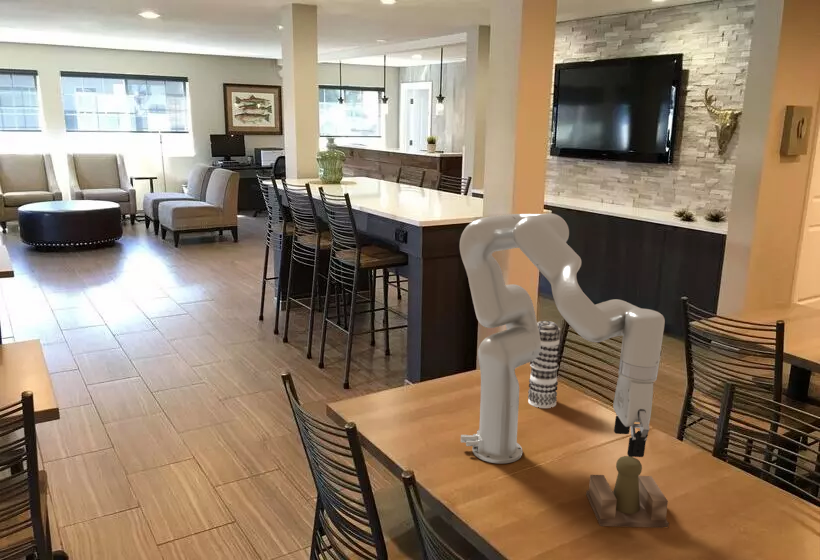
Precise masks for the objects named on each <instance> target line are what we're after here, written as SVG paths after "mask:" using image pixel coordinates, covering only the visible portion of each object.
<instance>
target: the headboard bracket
mask: <svg viewBox="0 0 820 560" xmlns="http://www.w3.org/2000/svg"><path fill="white" fill-rule="evenodd" d="M638 478H639V501H640V510H639V511H638V512H636V513H632V514H628V513H622V512H619V511H617V510H616V502H617V499H616V498H615V496H614V494H613V491H614V490H612V488H611V486H610V483H609V482H608V481H607V479H606V476H605V475H604V474H590V475H589V485H588V487H589V488H588V490H586V492H585V493H586V494H585V495H586V497H587V499H588V501H589V504H590V506H591V508H592V511H593V513H594V515H595V517H596V519H597V523H598V524H599V526H600V527H624V528H625V527H626V528H627V527H631V528H633V527H634V528H663V527H668V528H669V525H670V523H669V522H668V520H667V513H668V512H667V511H668V503H669V501H668V499H667V497H666V496H665V494H664V493H663V491H662V489H661V488H660V487H659V485H658V484H657V482H656V481H655V479H654V478H653V476H652V475H639V476H638Z"/></svg>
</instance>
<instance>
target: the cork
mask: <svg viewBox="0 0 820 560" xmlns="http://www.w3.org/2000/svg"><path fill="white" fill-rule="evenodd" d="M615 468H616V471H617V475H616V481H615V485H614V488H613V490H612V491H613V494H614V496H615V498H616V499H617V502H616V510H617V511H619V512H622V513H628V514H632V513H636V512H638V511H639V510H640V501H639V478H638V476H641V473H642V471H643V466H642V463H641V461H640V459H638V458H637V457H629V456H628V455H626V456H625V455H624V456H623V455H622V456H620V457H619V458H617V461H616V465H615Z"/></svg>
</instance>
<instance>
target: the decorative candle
mask: <svg viewBox="0 0 820 560" xmlns="http://www.w3.org/2000/svg"><path fill="white" fill-rule="evenodd" d="M537 325H538V329H539V334H540V339H541V350H540V353H539V355H538V357H537V358H536V359H534V360H533V361H531V362H529V366H530V367H531V372H530V376H529V377H530V378H529V379H528V382H529V384H528V387H529V389H528V391H527V392H528V396H527V398H528V400H527V402H528V403H527V404H529V405H530V406H532V407H534V408H538V407H539V408H538V409H552V408H554V407H556V406H557V401H558V398H557V396H558V392H557V390H558V385H559V382H558V376H557V375H558V374H557V373H558V369H559V367H560V366H559V364H558V363H559V362H561V359H560V357H561V353H560V351H562V347H561V346H562V344H563V343H562V341H560V331H561V328H560V327H559V326H558V324H557V323H555V322H553V321H550V320H540V321H537ZM551 407H552V408H551Z"/></svg>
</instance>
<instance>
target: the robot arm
mask: <svg viewBox="0 0 820 560" xmlns="http://www.w3.org/2000/svg"><path fill="white" fill-rule="evenodd" d="M569 236H570V228H569V225H568V224H567V222H566V221H565V220H564V218H563V217H561V216H560V215H559V214H556V213H553V212H552V213H551V212H549V213H509V214H503V215H493V216H486V217H481V218H478V219H475V220H473V221H472V222H470V223H469V224H467V225H466V226H465V228H464V230H463V231H462V233H461V234H460V238H459V253H460V257H461V260H462V263H463V266H464V269H465V272H466V276H467V278H468V284H469V285H468V286H469V289H470V294H471V299H472V304H473V308H474V312H475V316H476V319H477V321H478V323H479V324H480V325H481V326H482V327H484V328H486V329H494V328H497V327H498V328H499V327H502V326H505V330H501V331H499V332H495V333H492V334H490V335H488V336H486V337H485V338H484V339H483V340H482V341H481V342H480V344H479V346H478V351H477V355H478V356H477V357H478V364H479V371H480V405H479V406H480V407H479V428H478V430H477V431H476V433H473V434H472V435H471V434H470V435H469V434H460V443H465V445H466V447H472V453H473V455H474V456H475V457H476V458H478V459H479V460H482V461H485V462H487V463H492V464H502V465H503V464H510V463H513V462H516V461H518V460H520V459H521V458H522V456H523V448H522V446H521V445H520V443H518V439H517V438H518V424H519V403H520V385H519V384H520V383H519V380H518V378H517V375H516V372H515V371H516V369H517V368H519V367H520V366H524V365H526V364H530V362H531V361H533V360H534V359H536V358H537V357H538V355H539V353H540V350H541V339H540V334H539V329H538V325H537V323H538V321H537V316H536V311H535V306H534V303H533V300H532V298H531V296H530V294H529V293H528V291H527V290H526V289H525V288H524V287H522V286H520V285H518V284H515V283H513V284H512V283H511V284H506V283H505V280H504V275H503V270H502V268H501V266H500V264H499V262H498V261H497V259H496V258H495V257H494V256H493V254H494V253H495V252H500V251H506V250H513V249H520V251H521V252H522V253H523V255H525V256H526V257H527V259H528V260H529V261H530V262H531V263H532V264H533V266H535V268H537V270H538V271H539V272H540V273H541V274H542V276H543V277H545V278H546V280H547V281H548V282H549V284H550V285H551V293H552V296H553V300H554V303H555V306H556V308H557V311H558V313H560V315H561V317H562V318H563V319H564V320H565V322H567V324H568V325H569V326H570V328H572V330H573V331H575V333H577V334H578V336H580V337H581V338H583V339H584V340H586V341H588V342H591V343H601V342H604V341H607V340H609V339H611V338H615V337H621V336H622V342H621V348H620V349H621V350H620V358H619V365H618V376H617V382H616V387H615V392H614V396H613V397H614V399H613V404H612V408H613V411H614V412H615V415H616V416H615V420H614V429H613V432H614V434H616V435H617V434H618V435H629V434H630V436H631V437H629V438H628V439H629V440H628V447H627V453H626V454H627V456H629V457H634V458H643V457H644V456H645V449H646V443H647V440H648V436H649V432H650V421H651V417H652V416H651V415H652V407H653V406H652V405H653V398H654V397H653V393H654V382H656V381H657V380H658V379H657V377H658V371H659V364H660V358H661V351H662V343H663V338H664V331H665V324H666V323H665V322H666V321H665V317H664V315H663V313H662V314H661V313H660V312H659V311H657V310H654V309H649V308H641V307H638V306H637V305H634V304H632V303H630V302H627V301H625V300H622V299H609V300H606V301H602V302H599V303H596V304H595V303H594V302H593V301H592V300H591V299H590V298H589V297H588V296H587V295H586V294H585V293H584V292H583V289H582V288H581V287H580V285H579V283H578V279H577V273H578V272H579V271H580V268H581V267H582V259H581V256H579V254H577V252H575V250H574V249H573V248H572V247H571V246H570V245H568V243H567V242H568V240H569ZM636 429H639V430H638V431H636Z"/></svg>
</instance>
